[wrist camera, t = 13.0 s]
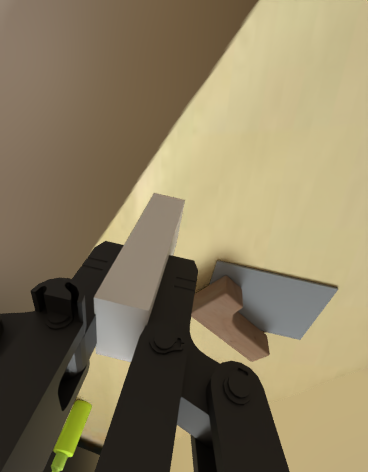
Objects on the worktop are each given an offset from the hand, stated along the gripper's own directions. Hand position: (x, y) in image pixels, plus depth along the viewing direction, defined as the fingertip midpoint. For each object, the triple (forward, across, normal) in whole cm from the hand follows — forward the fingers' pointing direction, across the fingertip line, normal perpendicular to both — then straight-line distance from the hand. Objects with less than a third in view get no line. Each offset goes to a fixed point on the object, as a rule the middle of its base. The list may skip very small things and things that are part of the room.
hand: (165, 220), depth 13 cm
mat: (+24, +17, -28) cm, 41 cm away
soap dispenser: (+24, -21, -94) cm, 99 cm away
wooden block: (+22, +6, -27) cm, 35 cm away
